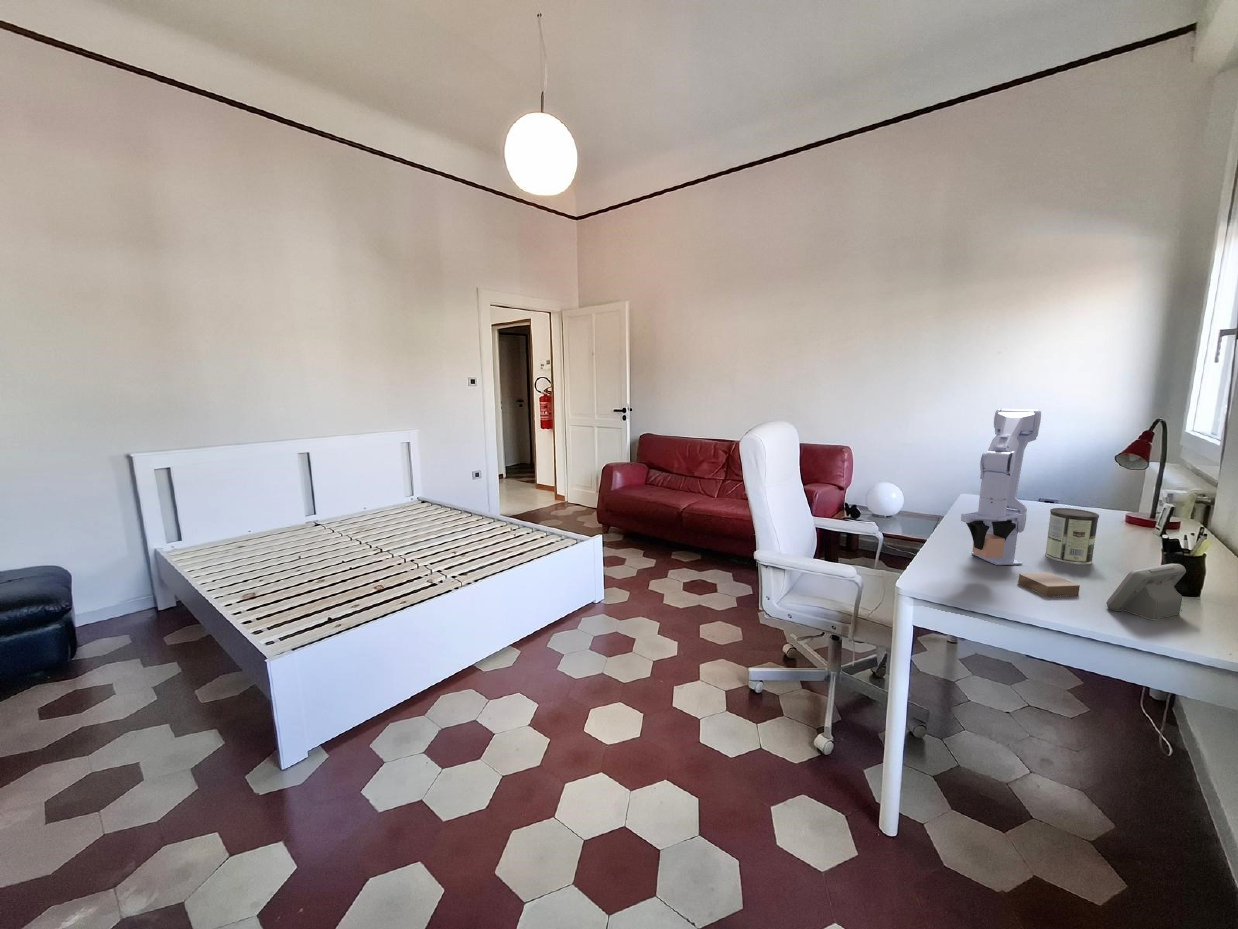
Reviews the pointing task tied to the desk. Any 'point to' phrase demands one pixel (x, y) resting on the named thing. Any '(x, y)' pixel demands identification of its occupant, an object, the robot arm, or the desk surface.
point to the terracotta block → (991, 547)
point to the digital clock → (1149, 592)
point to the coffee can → (1071, 535)
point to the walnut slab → (1049, 584)
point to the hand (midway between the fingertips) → (987, 548)
